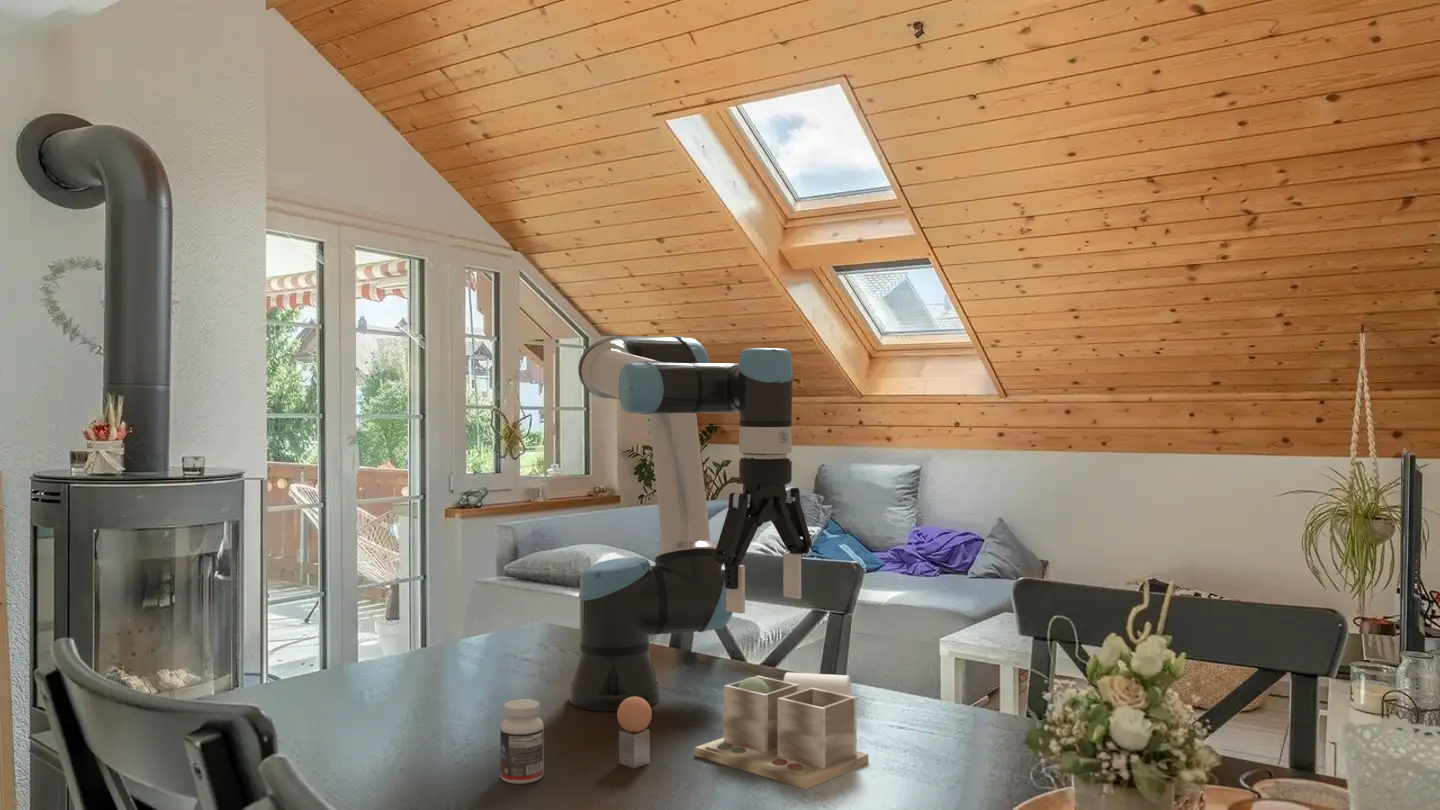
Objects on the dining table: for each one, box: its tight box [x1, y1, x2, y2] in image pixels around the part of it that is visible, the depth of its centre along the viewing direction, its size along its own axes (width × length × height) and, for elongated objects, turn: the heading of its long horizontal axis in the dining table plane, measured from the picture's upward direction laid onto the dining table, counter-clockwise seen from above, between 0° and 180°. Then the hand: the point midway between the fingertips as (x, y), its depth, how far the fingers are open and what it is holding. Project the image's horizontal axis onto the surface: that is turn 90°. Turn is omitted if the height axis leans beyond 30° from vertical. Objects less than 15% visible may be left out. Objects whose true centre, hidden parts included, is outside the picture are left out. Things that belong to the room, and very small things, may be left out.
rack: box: [694, 675, 869, 790], centre depth 153 cm, size 20×14×9 cm
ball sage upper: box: [738, 676, 769, 694], centre depth 158 cm, size 5×5×5 cm
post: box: [618, 728, 651, 769], centre depth 152 cm, size 3×3×5 cm
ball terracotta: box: [616, 696, 653, 732], centre depth 152 cm, size 5×5×5 cm
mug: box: [782, 672, 852, 696], centre depth 171 cm, size 12×10×8 cm
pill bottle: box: [499, 698, 545, 785], centre depth 146 cm, size 6×6×10 cm
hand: (764, 604), depth 156 cm, fingers open, 13 cm apart
